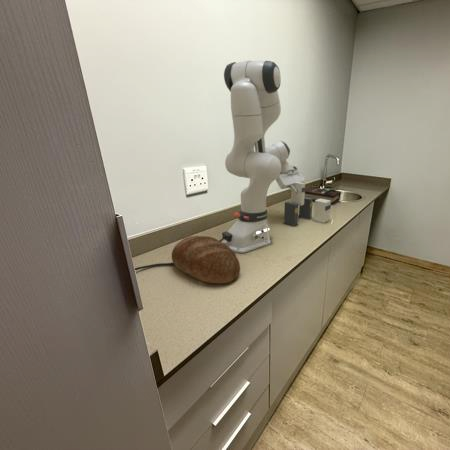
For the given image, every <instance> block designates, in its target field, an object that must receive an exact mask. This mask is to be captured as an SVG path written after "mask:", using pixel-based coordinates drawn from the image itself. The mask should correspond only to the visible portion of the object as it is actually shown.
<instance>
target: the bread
mask: <svg viewBox="0 0 450 450" xmlns="http://www.w3.org/2000/svg"><path fill="white" fill-rule="evenodd" d="M222 242H223V241H221V242H220V240H218V239H217V238H215V237H211V236H207V235H206V236H205V235H193V236H188V237H185V238H183V239H182V240H180V241H179V242H178V243H177V244H175V246H174V247H173V249H172V251H171V261H172V263H174V265H173V266H175V267H176V268H177V269H178V270H180V271H181V272H183V273H185V274H187V275H189V276H191V277H192V278H195V279H196V280H198V281H200V282H203V283H208V284H227V283H228V284H229V283H232V282H233V281H234V280H235V279H236V278H238V276H239V274H240V272H241V263H240V261H239V258H238V256H237V255H236V252H233V251H232V250H231V249H230V248H229V247H228V246H227V245H226V244H224V243H222Z"/></svg>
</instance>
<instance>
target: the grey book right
mask: <svg viewBox="0 0 450 450" xmlns="http://www.w3.org/2000/svg"><path fill="white" fill-rule="evenodd" d="M312 201H313V198H307V197H304V205H298V208H299V210H298V218H302V219H306V220H311V219H312V215H313V206H314V205H313V204H314V202H312Z"/></svg>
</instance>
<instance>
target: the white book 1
mask: <svg viewBox="0 0 450 450" xmlns="http://www.w3.org/2000/svg"><path fill="white" fill-rule="evenodd" d="M293 186H294V188H295V189H297V190H298V192H297V193H294V192H293V191H292V190H290V191H291V192H290V202H293V203H298V206H299V205H304V196H305V189H306V183H305V182H304V183H301V182H294V184H293Z"/></svg>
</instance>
